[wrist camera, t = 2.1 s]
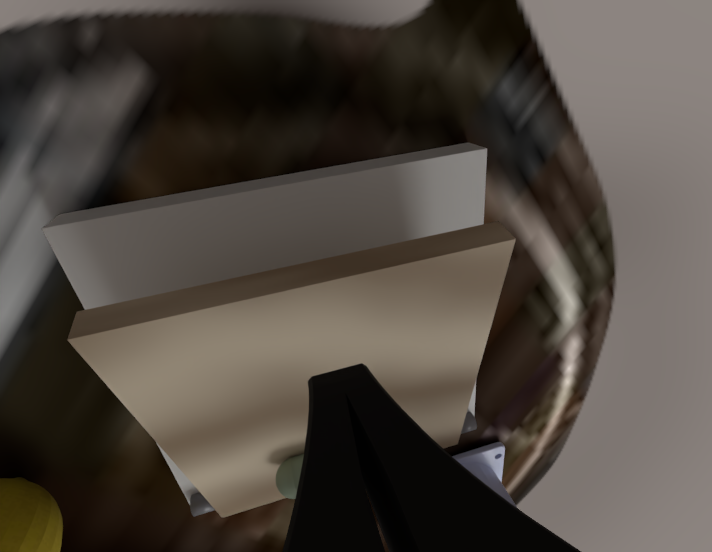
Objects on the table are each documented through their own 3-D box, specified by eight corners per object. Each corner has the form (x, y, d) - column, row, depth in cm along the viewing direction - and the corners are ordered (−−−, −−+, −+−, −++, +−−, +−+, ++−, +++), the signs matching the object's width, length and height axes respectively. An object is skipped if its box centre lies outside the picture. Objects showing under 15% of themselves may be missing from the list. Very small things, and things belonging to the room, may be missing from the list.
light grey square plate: (461, 408, 24) (480, 437, 23) (196, 486, 22) (192, 528, 20) (468, 142, 17) (498, 152, 15) (59, 214, 14) (30, 237, 12)
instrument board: (449, 427, 22) (471, 473, 20) (221, 496, 20) (223, 555, 18) (498, 221, 13) (548, 272, 11) (76, 311, 11) (48, 394, 9)
